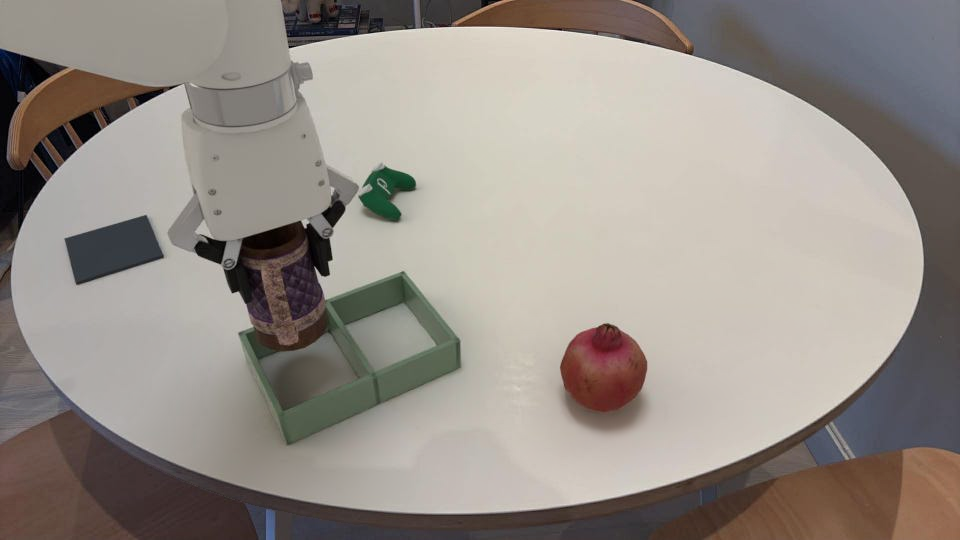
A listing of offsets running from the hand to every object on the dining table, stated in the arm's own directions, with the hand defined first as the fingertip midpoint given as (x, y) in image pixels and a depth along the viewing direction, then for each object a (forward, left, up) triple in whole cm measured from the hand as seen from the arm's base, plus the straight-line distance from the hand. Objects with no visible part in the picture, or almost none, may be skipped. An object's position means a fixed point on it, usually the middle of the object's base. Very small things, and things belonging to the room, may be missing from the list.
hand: (283, 279), depth 62 cm
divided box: (+5, 0, -14) cm, 15 cm away
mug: (0, 0, -7) cm, 7 cm away
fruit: (+24, -17, -14) cm, 33 cm away
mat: (-13, +34, -14) cm, 39 cm away
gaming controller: (+21, +25, -14) cm, 36 cm away
